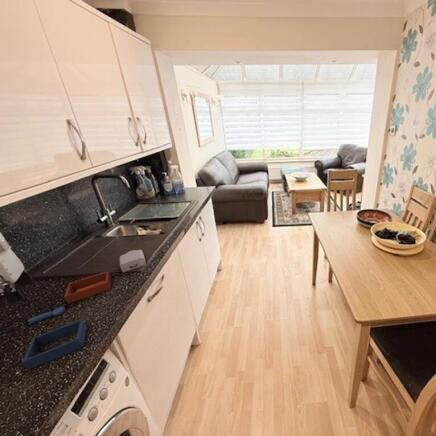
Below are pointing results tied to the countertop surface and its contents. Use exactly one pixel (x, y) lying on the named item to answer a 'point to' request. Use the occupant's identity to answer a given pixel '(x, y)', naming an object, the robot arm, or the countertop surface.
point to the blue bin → (36, 360)
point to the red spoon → (90, 286)
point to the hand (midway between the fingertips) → (23, 292)
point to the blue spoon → (47, 314)
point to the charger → (132, 260)
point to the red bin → (72, 296)
